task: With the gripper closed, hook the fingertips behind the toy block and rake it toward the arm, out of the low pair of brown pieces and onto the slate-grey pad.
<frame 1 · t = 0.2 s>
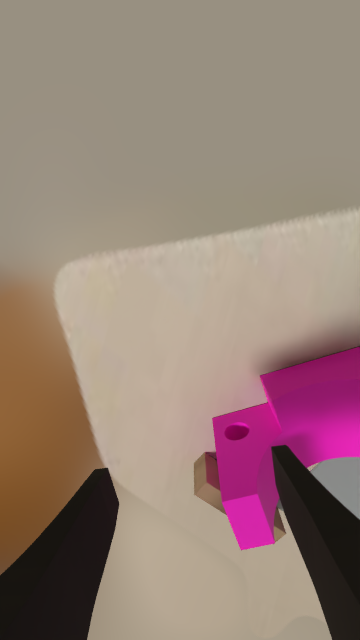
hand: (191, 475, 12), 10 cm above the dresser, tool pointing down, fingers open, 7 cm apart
toy block: (304, 398, 21), on the dresser, touching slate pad
pair of brown pieces: (314, 406, 21), on the dresser
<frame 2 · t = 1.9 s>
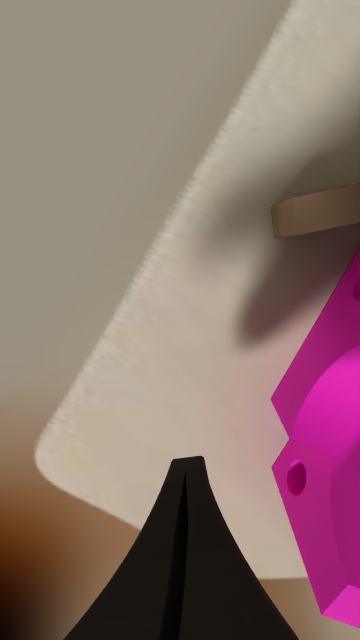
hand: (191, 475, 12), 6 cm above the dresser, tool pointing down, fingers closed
toy block: (337, 378, 16), on the dresser, touching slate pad
pair of brown pieces: (356, 377, 16), on the dresser
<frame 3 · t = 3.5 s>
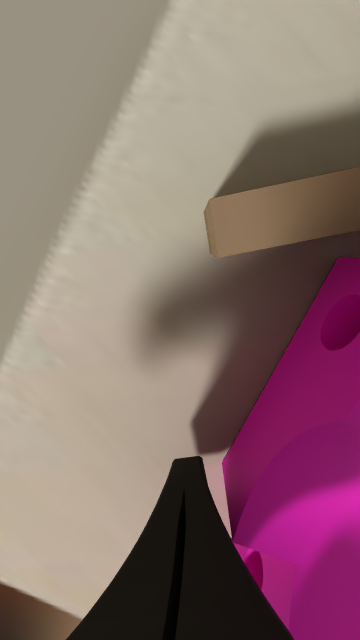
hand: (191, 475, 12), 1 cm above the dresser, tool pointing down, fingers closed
toy block: (309, 436, 12), on the dresser, touching gripper, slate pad
pair of brown pieces: (329, 437, 12), on the dresser
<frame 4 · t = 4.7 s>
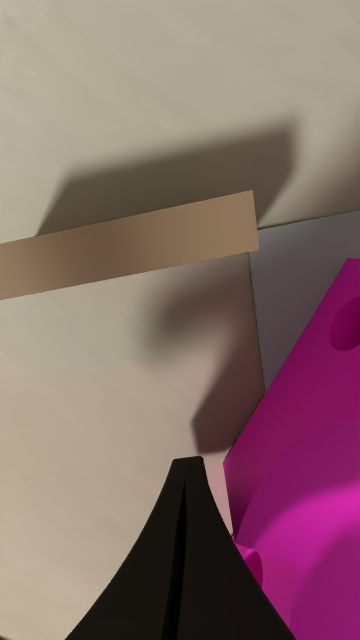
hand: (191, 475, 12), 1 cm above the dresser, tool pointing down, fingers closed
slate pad: (359, 433, 12), on the dresser
toy block: (311, 438, 12), resting on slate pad, touching gripper
pair of brown pieces: (180, 456, 13), on the dresser
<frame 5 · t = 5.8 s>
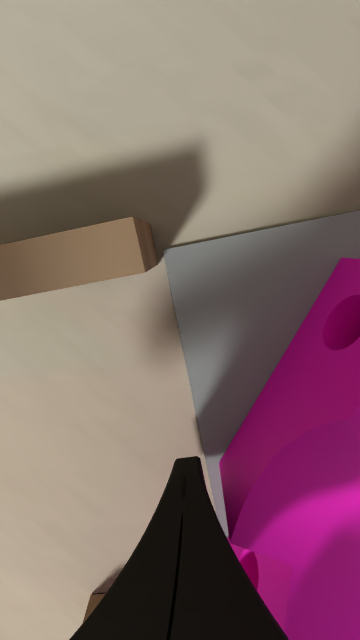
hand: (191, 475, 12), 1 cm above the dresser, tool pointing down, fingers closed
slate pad: (287, 441, 12), on the dresser
toy block: (306, 437, 12), resting on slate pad, touching arm, gripper
pair of brown pieces: (117, 463, 13), on the dresser
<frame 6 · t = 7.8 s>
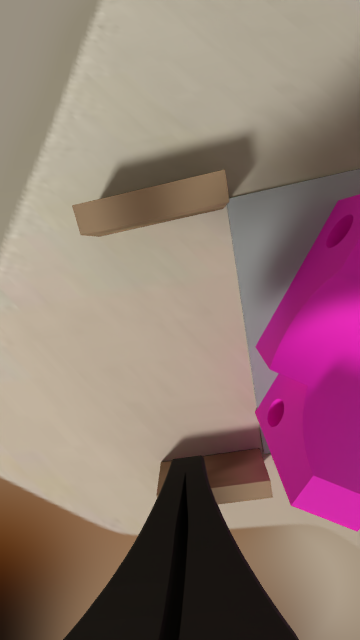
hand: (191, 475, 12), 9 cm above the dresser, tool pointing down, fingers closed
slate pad: (304, 332, 19), on the dresser
toy block: (314, 328, 19), resting on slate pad
pair of brown pieces: (187, 353, 19), on the dresser
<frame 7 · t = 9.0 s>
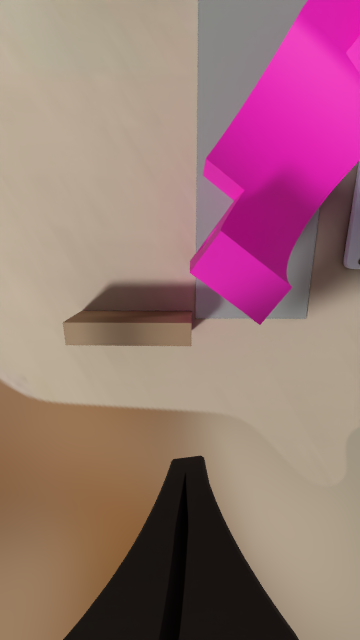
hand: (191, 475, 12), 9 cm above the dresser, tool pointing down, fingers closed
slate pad: (259, 170, 17), on the dresser
toy block: (270, 167, 17), resting on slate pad
pair of brown pieces: (128, 172, 17), on the dresser
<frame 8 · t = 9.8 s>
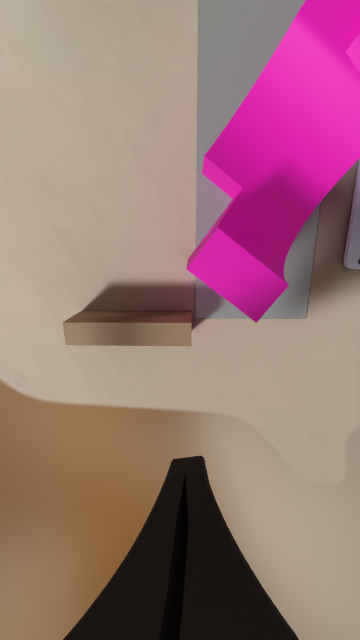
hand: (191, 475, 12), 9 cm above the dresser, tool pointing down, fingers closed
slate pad: (259, 170, 17), on the dresser
toy block: (269, 166, 17), resting on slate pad
pair of brown pieces: (128, 172, 17), on the dresser
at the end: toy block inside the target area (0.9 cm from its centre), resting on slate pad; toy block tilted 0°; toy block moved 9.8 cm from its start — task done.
